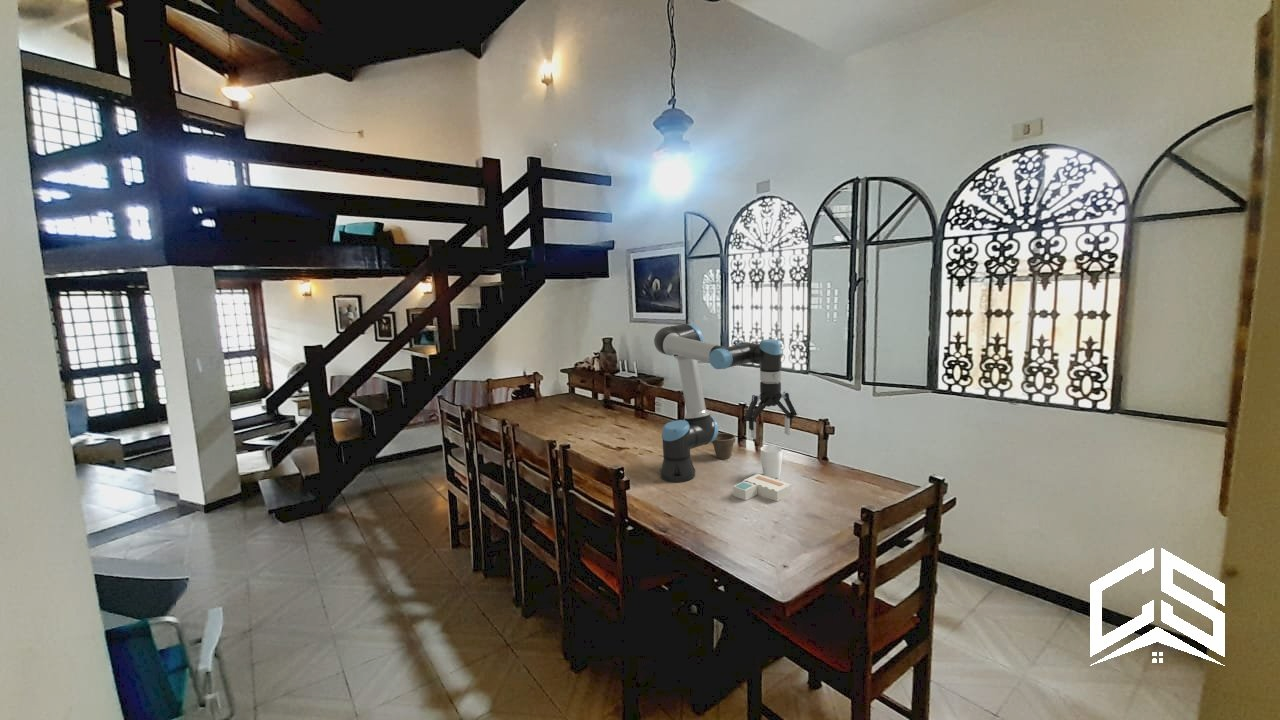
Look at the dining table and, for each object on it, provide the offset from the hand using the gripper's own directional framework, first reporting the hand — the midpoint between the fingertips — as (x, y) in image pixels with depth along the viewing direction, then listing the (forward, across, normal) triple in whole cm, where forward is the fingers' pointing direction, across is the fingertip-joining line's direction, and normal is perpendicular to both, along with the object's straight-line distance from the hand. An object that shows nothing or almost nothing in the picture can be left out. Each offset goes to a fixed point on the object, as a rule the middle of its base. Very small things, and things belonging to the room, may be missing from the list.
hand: (770, 436), depth 199 cm
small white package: (+24, 0, +3) cm, 24 cm away
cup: (+24, +8, +17) cm, 31 cm away
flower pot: (+25, -2, +45) cm, 52 cm away
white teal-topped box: (+24, -9, +3) cm, 26 cm away
